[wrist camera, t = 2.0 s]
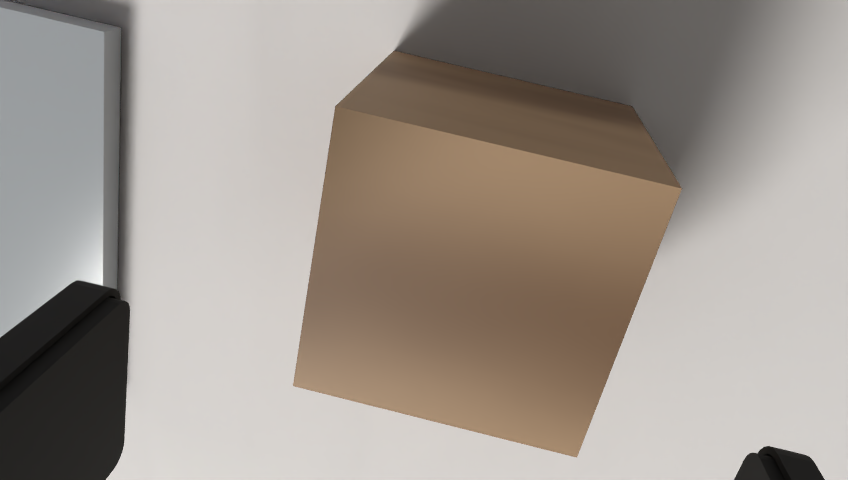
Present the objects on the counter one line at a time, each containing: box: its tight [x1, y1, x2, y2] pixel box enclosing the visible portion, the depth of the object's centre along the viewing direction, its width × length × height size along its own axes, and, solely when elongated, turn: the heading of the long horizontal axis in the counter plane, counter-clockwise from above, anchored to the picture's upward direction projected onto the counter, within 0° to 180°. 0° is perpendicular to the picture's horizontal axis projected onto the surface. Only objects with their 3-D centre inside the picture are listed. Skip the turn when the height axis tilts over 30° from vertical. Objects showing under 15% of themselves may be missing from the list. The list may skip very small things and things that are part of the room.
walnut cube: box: [293, 51, 682, 457], centre depth 16 cm, size 6×6×6 cm
